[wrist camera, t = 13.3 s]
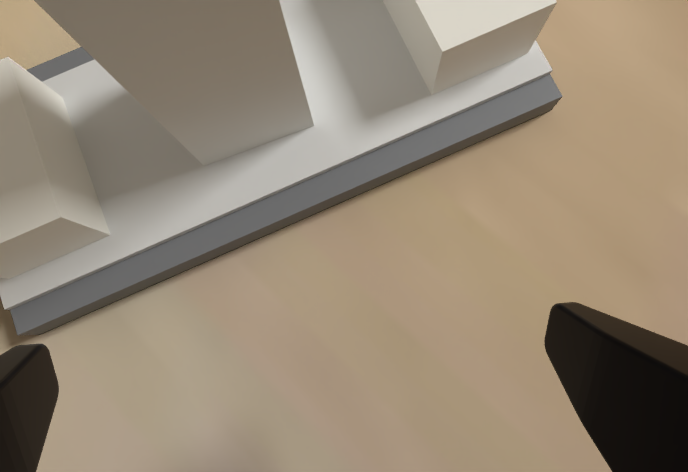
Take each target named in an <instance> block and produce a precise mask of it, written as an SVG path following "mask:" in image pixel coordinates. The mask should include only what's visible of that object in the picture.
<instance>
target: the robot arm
mask: <svg viewBox="0 0 688 472" xmlns="http://www.w3.org/2000/svg"><path fill="white" fill-rule="evenodd" d="M545 349H546V352H547V355H548V357H549V359H550V361H551V363H552V365H553V367H554V369H555V371H556V373H557V375H558V377H559V379H560V381H561V383H562V385H563V387H564V389H565V391H566V393H567V395H568V397H569V399H570V401H571V403H572V405H573V407H574V409H575V411H576V413H577V415H578V417H579V418H580V420H581V422H582V424H583V425H584V427H585V429H586V430H587V432H588V434H589V435H590V437H591V439H592V440H593V442H594V443H595V445H596V446H597V448H598V450H599V451H600V453H601V454H602V456H603V458H604V459H605V461H606V462H607V464H608V465H609V467H610V469H611V470H612V472H688V346H687V345H685V344H682V343H680V342H677V341H675V340H672V339H669V338H667V337H664V336H662V335H659V334H656V333H654V332H651V331H649V330H646V329H644V328H641V327H638V326H636V325H633V324H631V323H628V322H626V321H623V320H620V319H618V318H615V317H613V316H610V315H607V314H605V313H602V312H600V311H597V310H595V309H592V308H589V307H587V306H584V305H582V304H579V303H576V302H569V303H557V304H555V305H554V306H553V307H552V308H551V311H550V315H549V320H548V325H547V330H546V335H545ZM58 392H59V386H58V381H57V377H56V373H55V370H54V366H53V363H52V359H51V356H50V352H49V350H48V348H47V347H46V346H45V345H43V344H29V345H19V346H16V347H14V348H12V349H10V350H9V351H7V352H5V353H3V354H2V355H0V472H36V470H37V467H38V463H39V460H40V456H41V453H42V450H43V446H44V443H45V439H46V436H47V433H48V429H49V426H50V422H51V419H52V415H53V412H54V409H55V405H56V402H57V398H58Z"/></svg>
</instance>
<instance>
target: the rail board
mask: <svg viewBox="0 0 688 472" xmlns="http://www.w3.org/2000/svg"><path fill="white" fill-rule="evenodd" d="M279 2H280V5H281V9H282V12H283V16H284V19H285V23H286V27H287V30H288V34H289V37H290V41H291V44H292V48H293V52H294V55H295V59H296V62H297V66H298V69H299V73H300V76H301V80H302V84H303V87H304V91H305V94H306V98H307V101H308V105H309V109H310V112H311V116H312V119H313V123H314V126H312V127H309V128H306V129H304V130H301V131H298V132H295V133H293V134H290V135H287V136H284V137H282V138H279V139H276V140H274V141H271V142H268V143H265V144H263V145H260V146H257V147H254V148H252V149H249V150H246V151H244V152H241V153H238V154H235V155H233V156H230V157H227V158H225V159H222V160H219V161H216V162H214V163H211V164H208V165H205V166H204V165H203V164H202V163H200V162H199V161H198V160H197V159H196V158H195V157H194V156H193V155H192V154H191V153H190V152H189V151H188V150H187V149H186V148H185V147H184V146H183V145H182V144H181V143H180V142H179V141H178V140H177V139H176V138H175V137H174V136H173V135H172V134H171V133H170V132H169V131H168V130H167V129H166V128H165V127H164V126H163V125H162V124H160V123H159V122H158V121H157V120H156V119H155V118H154V117H153V116H152V115H151V114H150V113H149V112H148V111H147V110H146V109H145V108H144V107H143V106H142V105H141V104H140V103H139V102H138V101H137V100H136V99H135V98H134V97H133V96H132V95H131V94H130V93H129V92H128V91H127V90H126V89H125V88H124V87H123V86H122V85H120V84H119V83H118V82H117V81H116V80H115V79H114V78H113V77H112V76H111V75H110V74H109V73H108V72H107V71H106V70H105V69H104V68H103V67H102V66H101V65H100V64H99V63H98V62H97V61H96V60H95V59H94V58H93V57H92V56H91V55H90V54H89V53H88V52H87V51H86V50H85V49H84V48H83V47H80V48H77V49H75V50H73V51H70V52H68V53H66V54H63V55H61V56H59V57H56V58H54V59H52V60H49V61H47V62H44V63H42V64H40V65H37V66H35V67H33V68H30V69H28V70H25V69H24V68H23V67H21V66H20V65H19V64H17V63H16V62H15V61H13V60H12V59H11V58H9V57H6V58H4V59H1V60H0V297H1V300H2V304H3V307H4V310H10V311H11V315H12V318H13V321H14V325H15V328H16V331H17V335H40V334H42V333H44V332H47V331H49V330H51V329H54V328H56V327H58V326H60V325H63V324H65V323H67V322H70V321H72V320H74V319H76V318H79V317H81V316H83V315H85V314H88V313H90V312H92V311H95V310H97V309H99V308H101V307H104V306H106V305H108V304H111V303H113V302H115V301H117V300H120V299H122V298H124V297H126V296H129V295H131V294H133V293H136V292H138V291H140V290H142V289H145V288H147V287H149V286H152V285H154V284H156V283H158V282H161V281H163V280H165V279H167V278H170V277H172V276H174V275H177V274H179V273H181V272H183V271H186V270H188V269H190V268H193V267H195V266H197V265H199V264H202V263H204V262H206V261H209V260H211V259H213V258H215V257H218V256H220V255H222V254H224V253H227V252H229V251H231V250H234V249H236V248H238V247H240V246H243V245H245V244H247V243H250V242H252V241H254V240H256V239H259V238H261V237H263V236H265V235H268V234H270V233H272V232H275V231H277V230H279V229H281V228H284V227H286V226H288V225H291V224H293V223H295V222H297V221H300V220H302V219H304V218H306V217H309V216H311V215H313V214H316V213H318V212H320V211H322V210H325V209H327V208H329V207H332V206H334V205H336V204H338V203H341V202H343V201H345V200H347V199H350V198H352V197H354V196H357V195H359V194H361V193H363V192H366V191H368V190H370V189H373V188H375V187H377V186H379V185H382V184H384V183H386V182H388V181H391V180H393V179H395V178H398V177H400V176H402V175H404V174H407V173H409V172H411V171H414V170H416V169H418V168H420V167H423V166H425V165H427V164H430V163H432V162H434V161H436V160H439V159H441V158H443V157H445V156H448V155H450V154H452V153H455V152H457V151H459V150H461V149H464V148H466V147H468V146H471V145H473V144H475V143H477V142H480V141H482V140H484V139H486V138H489V137H491V136H493V135H496V134H498V133H500V132H502V131H505V130H507V129H509V128H512V127H514V126H516V125H518V124H521V123H523V122H525V121H527V120H530V119H532V118H534V117H537V116H539V115H541V114H543V113H546V112H548V111H550V110H552V109H553V107H554V106H555V105H556V104H557V102H558V101H559V100H560V99H561V98H562V95H561V93H560V91H559V89H558V88H557V86H556V84H555V82H554V81H553V79H552V77H551V75H550V73H551V72H552V68H551V66H550V65H549V63H548V61H547V59H546V58H545V56H544V54H543V52H542V51H541V49H540V47H539V45H538V44H537V42H536V38H537V36H538V35H539V33H540V31H541V29H542V28H543V26H544V24H545V22H546V21H547V19H548V17H549V15H550V13H551V12H552V10H553V8H554V6H555V5H556V3H557V2H556V0H279Z"/></svg>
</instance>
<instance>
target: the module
mask: <svg viewBox="0 0 688 472" xmlns="http://www.w3.org/2000/svg"><path fill="white" fill-rule="evenodd" d="M34 1H35V2H36V3H37V4H38V5H39V6H40V7H42V8H43V9H44V10H45V11H46V12H47V13H48V14H49V15H50V16H51V17H52V18H53V19H54V20H55V21H56V22H57V23H58V24H59V25H60V26H61V27H62V28H63V29H64V30H65V31H66V32H67V33H68V34H69V35H70V36H71V37H72V38H73V39H74V40H75V41H76V42H77V43H78V44H79V45H80V46H82V47H83V48H84V49H85V50H86V51H87V52H88V53H89V54H90V55H91V56H92V57H93V58H94V59H95V60H96V61H97V62H98V63H99V64H100V65H101V66H102V67H103V68H104V69H105V70H106V71H107V72H108V73H109V74H110V75H111V76H112V77H113V78H114V79H115V80H116V81H117V82H118V83H119V84H120V85H122V86H123V87H124V88H125V89H126V90H127V91H128V92H129V93H130V94H131V95H132V96H133V97H134V98H135V99H136V100H137V101H138V102H139V103H140V104H141V105H142V106H143V107H144V108H145V109H146V110H147V111H148V112H149V113H150V114H151V115H152V116H153V117H154V118H155V119H156V120H157V121H158V122H159V123H160V124H162V125H163V126H164V127H165V128H166V129H167V130H168V131H169V132H170V133H171V134H172V135H173V136H174V137H175V138H176V139H177V140H178V141H179V142H180V143H181V144H182V145H183V146H184V147H185V148H186V149H187V150H188V151H189V152H190V153H191V154H192V155H193V156H194V157H195V158H196V159H197V160H198V161H199V162H200V163H202V164H203V165H204V166H205V165H208V164H211V163H214V162H216V161H219V160H222V159H225V158H227V157H230V156H233V155H235V154H238V153H241V152H244V151H246V150H249V149H252V148H254V147H257V146H260V145H263V144H265V143H268V142H271V141H274V140H276V139H279V138H282V137H284V136H287V135H290V134H293V133H295V132H298V131H301V130H304V129H306V128H309V127H312V126H314V123H313V119H312V116H311V112H310V109H309V105H308V101H307V98H306V94H305V91H304V87H303V84H302V80H301V76H300V73H299V69H298V66H297V62H296V59H295V55H294V52H293V48H292V44H291V41H290V37H289V34H288V30H287V27H286V23H285V19H284V16H283V12H282V9H281V5H280V2H279V0H34Z"/></svg>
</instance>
